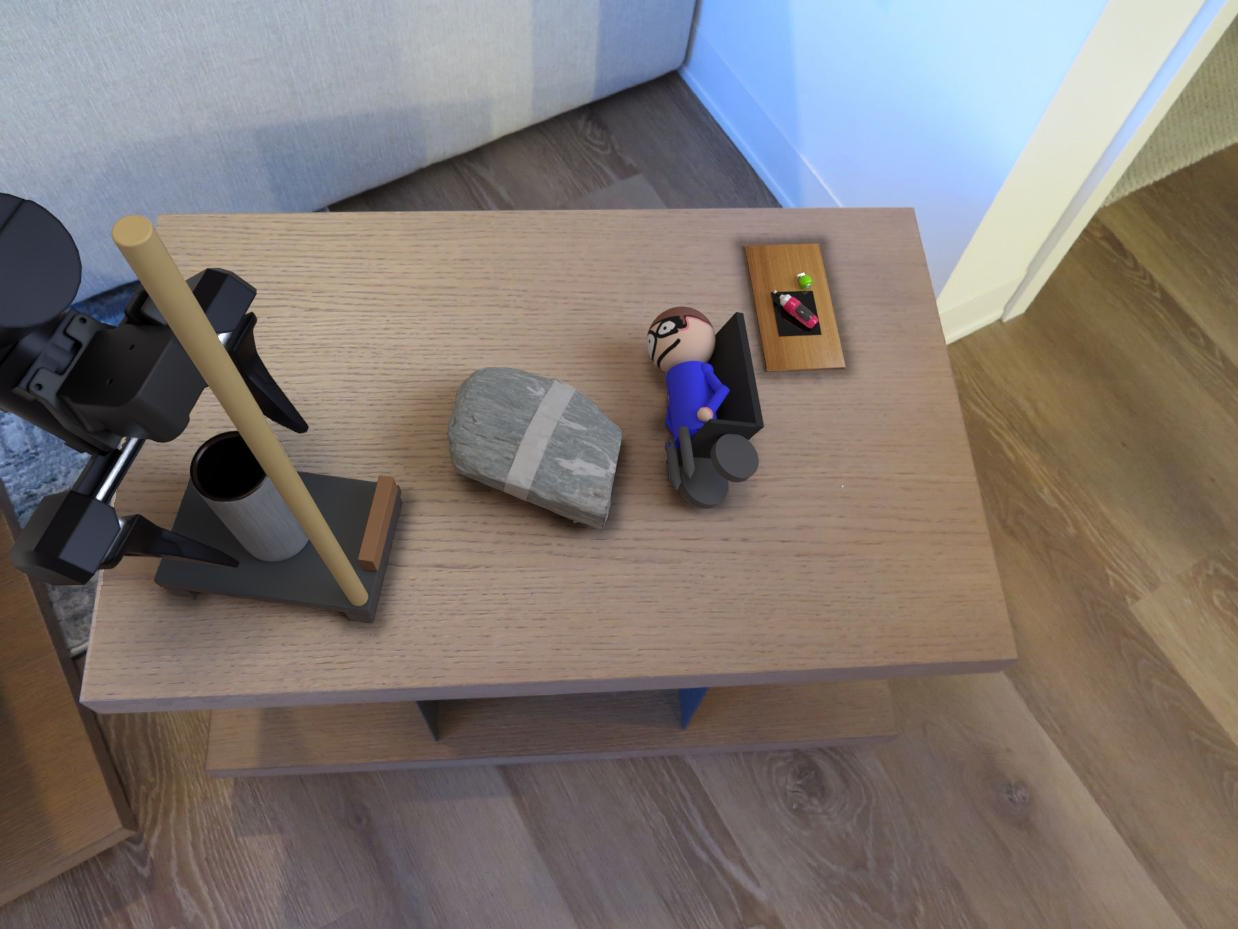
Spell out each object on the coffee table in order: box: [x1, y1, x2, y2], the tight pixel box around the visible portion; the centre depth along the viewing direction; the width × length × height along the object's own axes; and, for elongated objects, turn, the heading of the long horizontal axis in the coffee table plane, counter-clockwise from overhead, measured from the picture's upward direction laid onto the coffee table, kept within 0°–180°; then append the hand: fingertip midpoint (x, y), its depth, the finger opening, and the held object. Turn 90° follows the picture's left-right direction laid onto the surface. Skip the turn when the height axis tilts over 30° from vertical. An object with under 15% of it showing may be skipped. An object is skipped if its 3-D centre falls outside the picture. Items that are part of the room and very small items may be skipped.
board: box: [744, 243, 847, 373], centre depth 77 cm, size 6×12×2 cm, turn 5°
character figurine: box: [646, 306, 765, 510], centre depth 69 cm, size 8×7×15 cm
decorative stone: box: [446, 366, 623, 531], centre depth 68 cm, size 13×10×6 cm
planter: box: [189, 430, 309, 562], centre depth 59 cm, size 4×4×10 cm
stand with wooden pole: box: [110, 214, 403, 624], centre depth 48 cm, size 14×9×40 cm, turn 83°
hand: (271, 495), depth 57 cm, fingers open, 9 cm apart
